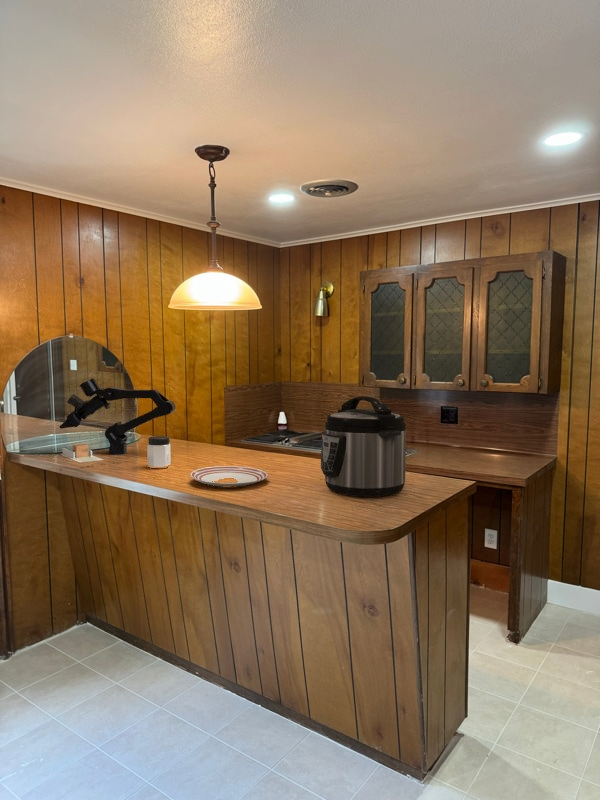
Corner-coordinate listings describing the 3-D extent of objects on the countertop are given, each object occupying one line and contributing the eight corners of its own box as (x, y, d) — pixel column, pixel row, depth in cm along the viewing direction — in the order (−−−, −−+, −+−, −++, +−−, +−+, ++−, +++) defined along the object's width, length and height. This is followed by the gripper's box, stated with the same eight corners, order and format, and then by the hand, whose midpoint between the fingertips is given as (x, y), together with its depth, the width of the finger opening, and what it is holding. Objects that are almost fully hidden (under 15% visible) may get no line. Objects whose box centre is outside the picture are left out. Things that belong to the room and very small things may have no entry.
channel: (59, 457, 240) (59, 448, 240) (83, 455, 247) (83, 446, 247) (79, 466, 222) (79, 456, 222) (103, 463, 229) (103, 453, 229)
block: (72, 456, 236) (72, 444, 235) (84, 455, 239) (84, 443, 238) (76, 457, 232) (76, 446, 231) (88, 456, 235) (88, 445, 235)
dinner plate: (282, 480, 203) (282, 471, 202) (236, 495, 179) (236, 485, 179) (222, 471, 216) (223, 463, 216) (173, 484, 193) (173, 475, 193)
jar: (163, 469, 217) (163, 439, 216) (144, 468, 219) (144, 438, 218) (173, 465, 225) (173, 436, 225) (155, 464, 227) (155, 435, 226)
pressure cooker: (324, 478, 204) (326, 393, 202) (402, 481, 201) (405, 394, 198) (316, 498, 175) (318, 398, 172) (407, 502, 171) (410, 400, 169)
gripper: (86, 385, 249) (57, 403, 249) (75, 396, 231) (44, 415, 231) (101, 405, 252) (73, 423, 252) (92, 417, 234) (61, 436, 235)
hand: (63, 424), depth 243 cm, fingers open, 9 cm apart
